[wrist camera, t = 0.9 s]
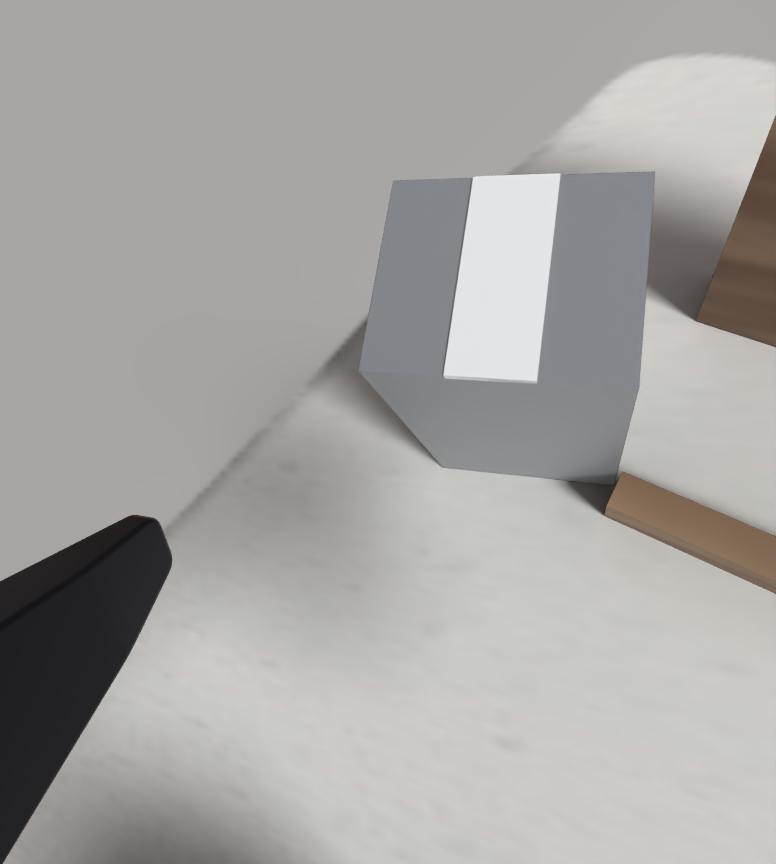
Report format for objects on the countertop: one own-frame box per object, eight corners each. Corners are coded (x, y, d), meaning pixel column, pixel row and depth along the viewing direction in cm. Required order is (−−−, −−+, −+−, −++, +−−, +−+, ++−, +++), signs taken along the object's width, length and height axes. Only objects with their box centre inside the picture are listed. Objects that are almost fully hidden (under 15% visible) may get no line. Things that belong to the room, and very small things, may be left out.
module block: (613, 485, 22) (639, 386, 13) (443, 467, 24) (357, 370, 15) (624, 349, 23) (655, 169, 14) (461, 342, 25) (392, 179, 16)
